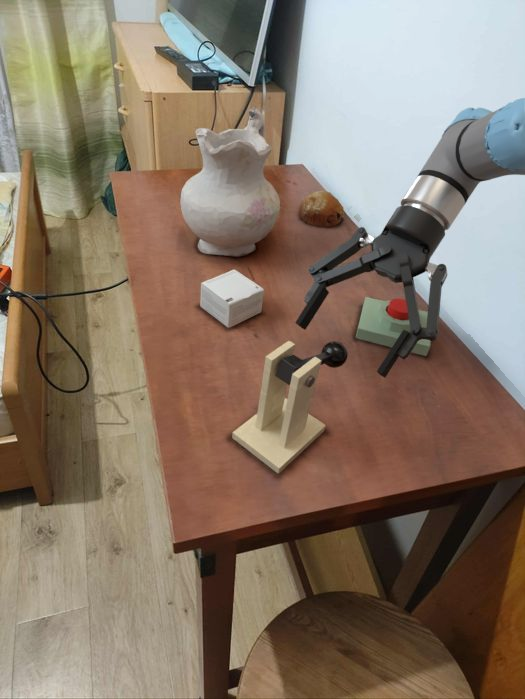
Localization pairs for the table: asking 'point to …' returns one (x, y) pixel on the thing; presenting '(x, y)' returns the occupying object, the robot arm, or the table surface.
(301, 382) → the cream lever bracket
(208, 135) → the ceramic pitcher
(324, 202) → the bread roll
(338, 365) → the lever
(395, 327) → the button block
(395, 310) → the button
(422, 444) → the table surface
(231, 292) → the small box
